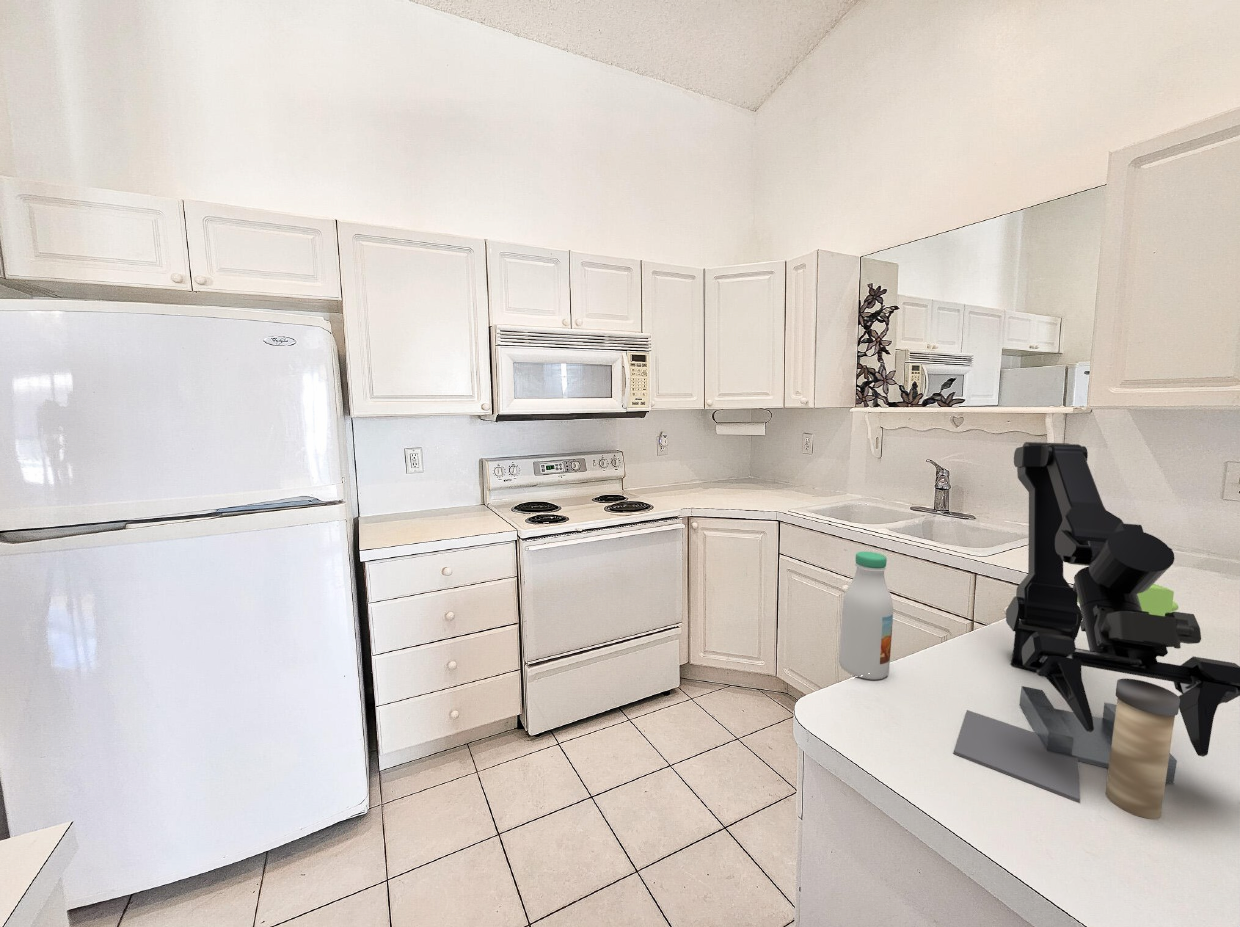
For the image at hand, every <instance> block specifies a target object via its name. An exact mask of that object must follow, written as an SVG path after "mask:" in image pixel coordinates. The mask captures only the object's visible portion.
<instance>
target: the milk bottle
mask: <svg viewBox="0 0 1240 927" xmlns="http://www.w3.org/2000/svg"><path fill="white" fill-rule="evenodd" d="M887 561H888V560H887V557H886V556H885V555H884V554H881V553H878V552H873V551H858V552H857V553H856V554H855V564H854V566H855V567H856V568H855V573H854V576H853V578H852V580H851V581H850V583H849V584H848V587H847V589H846V590H845V593H844V596H843V599H842V600H843V601H842V608H841V609H842V610H841V624H840V636H839V651H838V663H839V666H840V667H841V669H842V670H844V672H847V673H848V674H850V675H852V676H854V677H857V678H861V679H865V680H872V681H873V680H882V679H885V678H886V677H887V676H888V675H889V671H890V664H891V663H890V662H891V649H892V640H893V638H892V635H893V621H894V606H893V605H894V603H893V598H892V596H891V595H892V594H891V593H890V590H889V588H888V585H887V582H886V579H885V571H886V570H887V568H886V567H887ZM868 673H870V674H868ZM861 675H863V676H862V677H859V676H861Z"/></svg>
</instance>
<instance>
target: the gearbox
mask: <svg viewBox="0 0 1240 927" xmlns="http://www.w3.org/2000/svg"><path fill="white" fill-rule="evenodd" d="M1174 593H1175V592H1174V591H1173V590H1171V589H1169V588H1167V587H1164V586H1162V585H1159V584H1156V583H1154V584H1153V585H1152V586H1151V587H1150V588H1149V589H1148V590H1147V591H1144V592H1142V593H1138V594H1137V595H1138V598H1139V601H1140V605H1141V608H1142V611H1146V612H1149V614H1152V615H1159V616H1165V613H1172V612H1177V611H1178V609H1179V605H1178V603H1177V602H1176V601H1174ZM1077 604H1079V600H1078V601H1077Z"/></svg>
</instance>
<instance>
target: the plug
mask: <svg viewBox="0 0 1240 927" xmlns="http://www.w3.org/2000/svg"><path fill="white" fill-rule="evenodd" d="M1115 688H1116V689H1115V696H1116V698H1117V701H1116V705H1117V706H1116V714H1115V722H1114V730H1113V737H1112V745H1111V753H1110V761H1109V768H1107V779H1106V784H1105V786H1106V787H1105V796H1106V798H1107V799H1108V800H1109V801H1110V802H1111V803H1113V804H1114V805H1115V806H1117V807H1118V808H1119V809H1121V810H1123V811H1125V812H1127V813H1130V814H1132V815H1135V816H1137V817H1141V818H1144V819H1148V820H1149V819H1150V820H1155V819H1156V820H1157V819H1159V818H1161V816H1162V810H1163V803H1164V795H1165V789H1166V783H1167V782H1166V775H1167V768H1168V761H1169V754H1170V753H1171V746H1172V738H1173V731H1174V725H1175V718H1176V716H1177V715H1179V712H1180V710H1179V704H1180V698H1179V697H1178V696H1179V695H1177V694H1176V693H1175V692H1173V691H1171V690H1170V689H1168V688H1166V687H1163V686H1161V685H1157V684H1154V683H1151V682H1148V681H1144V680H1140V679H1133V678H1119V679H1117V681H1116V687H1115Z"/></svg>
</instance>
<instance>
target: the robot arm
mask: <svg viewBox="0 0 1240 927" xmlns="http://www.w3.org/2000/svg"><path fill="white" fill-rule="evenodd" d="M1014 450H1015V451H1014V453H1013V464H1014V467H1015V468H1016V471H1017V479H1018V481H1019V482H1020V483H1021V484H1022V485H1023V487H1024V488H1025V489H1026V491H1027V492H1028V549H1027V550H1028V554H1027V555H1028V556H1027V557H1028V558H1027V559H1028V567H1027V568H1028V570H1027V571H1028V572H1027V575H1026V576H1025V577H1024V579H1023V580H1021V582H1020V583H1019V584H1018V586H1017V587H1016V596H1013V598H1012V600H1011V602H1010V603H1009V605H1008V606H1007V608H1005V623H1006V624H1007V625H1008V626H1009V628H1010V629H1011V631H1012V632H1014V639H1013V640H1014V641H1013V650H1012V654H1011V659H1010V665H1011V666H1014V667H1017V668H1021V669H1024V670H1029V671H1032V672H1036V674H1037V676H1039V677H1042V678H1045V679H1047V681H1048V682H1049V683H1050V684H1051V686H1053V688H1054V689H1055V690H1056V691H1057V692H1058V693H1059V695H1060V696H1061V697H1062V699H1063V700H1064V701H1065V702H1066V703H1067V705H1068V707H1069V708H1070V710H1071V712H1074V714H1075V715H1076V717H1077V718H1078V720H1079V721H1080V723H1081V724H1082V725H1083V727H1084V728H1085V730H1086V731H1088V732H1092V731H1093V730H1094V725H1093V718H1092V716H1093V714H1092V710H1091V707H1090V706H1091V705H1090V703H1089V700H1088V697H1087V693H1086V692H1087V691H1086V689H1085V686H1084V683H1083V682H1084V681H1083V679H1082V667H1089V668H1093V669H1098V670H1106V671H1109V672H1111V671H1112V672H1116V673H1123V674H1126V675H1127V674H1128V675H1133V676H1137V677H1144V678H1151V679H1156V680H1160V681H1167V682H1173V686H1174V688H1175V690H1176V691H1177V692H1179V693H1180V695H1177V696H1178V697H1179V698H1180V704H1179V712H1180V715H1181V718H1182V720H1183V723H1184V727H1185V729H1186V732H1187V735H1188V738H1189V741H1190V743H1191V745H1192V747H1193V749H1194V751H1195V752H1196V755H1197V756H1199V757H1206V756H1207V755H1209V749H1210V743H1211V736H1212V729H1213V725H1214V720H1215V718H1214V717H1215V714H1216V713H1217V709H1218V707H1219V706H1220V705H1221V704H1224V703H1225V704H1228V703H1229V702H1231V701H1233V700H1234V699H1236V698H1238V697H1240V665H1239V664H1237V663H1235V662H1230V661H1225V660H1224V661H1223V660H1217V659H1212V658H1206V657H1199V656H1194V655H1193V656H1192V657H1190V658H1189V659H1187V660H1186V661H1185V662H1183V663H1182V664H1179V665H1178V664H1174V663H1173V664H1172V663H1168V662H1162V661H1158V659H1157V658H1158V657H1162V658H1164V657H1166V656H1167V655H1168V654H1169V652H1168V648H1174V649H1179V650H1180V649H1181V648H1182V647H1181V646H1182V645H1181V644H1188V645H1192V644H1199V643H1200V642H1201V641H1202V633H1201V628H1200V625H1199V622H1198V621H1197V618H1196V616H1195V614H1194V613H1188V612H1180V611H1172V613H1165V616H1159V615H1152V614H1149V612H1146V611H1142V608H1141V605H1140V601H1139V598H1138V595H1137V594H1138V593H1142V592H1144V591H1147V590H1148V589H1149V588H1150V587H1151V586H1152V585H1153V584H1156V582H1157V581H1158V580H1159V579H1160V577H1162V576H1163V574H1164V573H1166V572H1167V571H1168V570H1169V569H1170V568H1171V566H1172V565H1173V564H1174V562H1175V558H1176V557H1175V554H1174V550H1173V549H1172V548H1171V547H1169V546H1168V544H1166V543H1165V542H1164V541H1163V540H1162V539H1160V538H1158V537H1156V536H1155V535H1152V534H1150V533H1147V532H1145V531H1144V529H1143V527H1142V526H1143V525H1142V524H1136V523H1134V524H1133V523H1124V520H1122V518H1120V517H1118V516H1117V515H1115V514H1113V513H1111V512H1110V511H1109V510H1107V509H1106V507H1105V506H1104V503H1103V500H1102V498H1101V496H1100V493H1099V490H1098V488H1097V487H1098V486H1097V485H1096V481H1095V480H1094V477H1093V474H1092V471H1091V469H1090V466H1089V464H1088V456H1089V455H1088V454H1089V453H1088V448H1087V447H1086V446H1084V445H1080V444H1078V443H1076V444H1075V443H1067V442H1038V441H1037V442H1036V441H1034V442H1033V441H1026V442H1024V443H1023V445H1022V446H1019V447H1016V448H1015V449H1014ZM1064 563H1067V564H1069V565H1076V566H1085V567H1083V568H1081V569H1079V570H1078V571H1077V572H1076V573H1075V574H1074V576H1073V581H1074V583H1073V587H1072V586H1071V585H1070V584H1069V582H1068V581H1067V580H1066V578H1065V576H1064ZM1078 600H1079V603H1078V602H1077V601H1078ZM1078 604H1079V605H1078ZM1079 631H1081V632H1085V636H1086V639H1087V643H1088V649H1089V650H1088V649H1082V648H1077V647H1076V642H1075V641H1076V639H1077V637H1078V634H1079Z"/></svg>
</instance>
